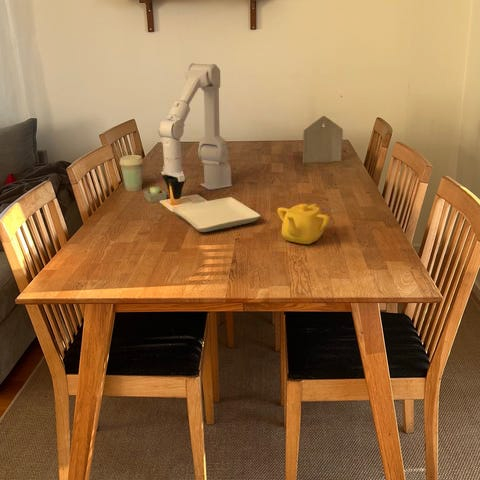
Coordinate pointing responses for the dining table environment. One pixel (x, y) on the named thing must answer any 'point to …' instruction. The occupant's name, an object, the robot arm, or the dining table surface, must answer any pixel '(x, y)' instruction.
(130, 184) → the coffee cup
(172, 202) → the marker
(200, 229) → the salad plate
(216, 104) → the robot arm
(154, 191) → the button
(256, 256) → the dining table surface
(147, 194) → the button housing
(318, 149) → the grey pentagonal block
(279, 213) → the teapot
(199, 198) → the sheet
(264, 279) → the dining table surface
